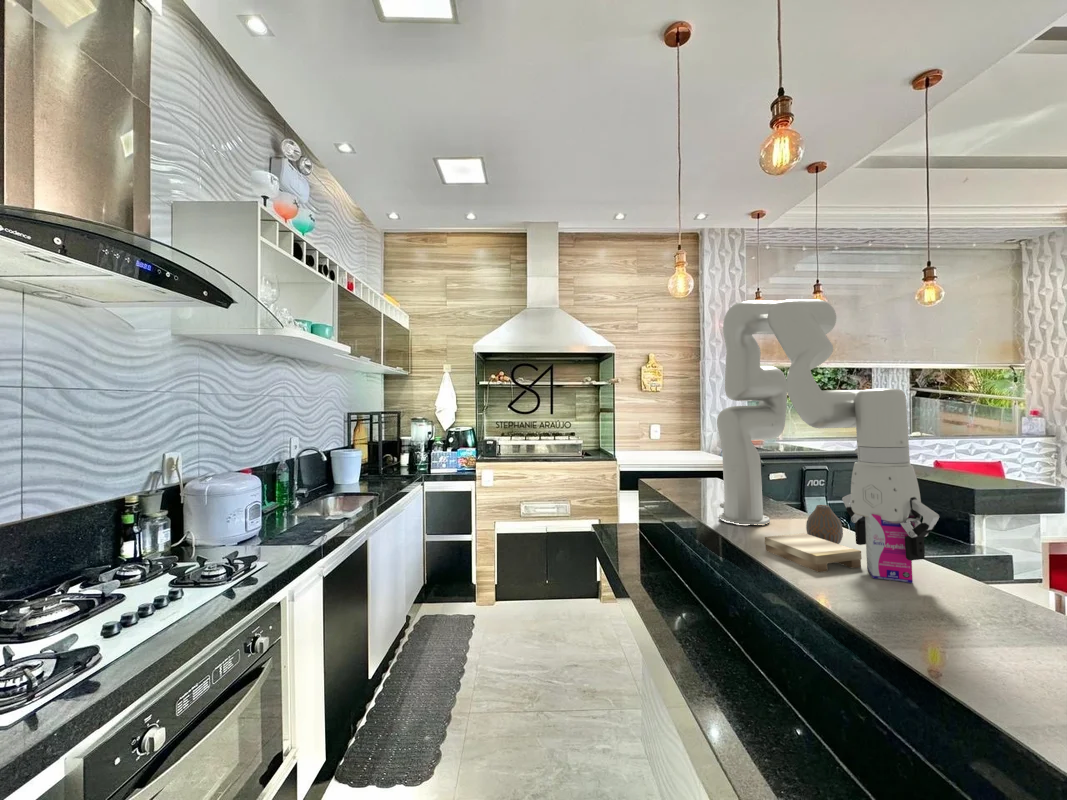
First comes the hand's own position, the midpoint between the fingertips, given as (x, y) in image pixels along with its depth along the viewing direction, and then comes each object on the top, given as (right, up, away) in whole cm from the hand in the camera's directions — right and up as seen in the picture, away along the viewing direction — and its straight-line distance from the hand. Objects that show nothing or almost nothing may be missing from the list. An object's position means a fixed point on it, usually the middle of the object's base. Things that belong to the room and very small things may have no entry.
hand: (888, 551), depth 82 cm
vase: (+1, -5, +19) cm, 20 cm away
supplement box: (0, -5, 0) cm, 5 cm away
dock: (-8, -5, +11) cm, 14 cm away
